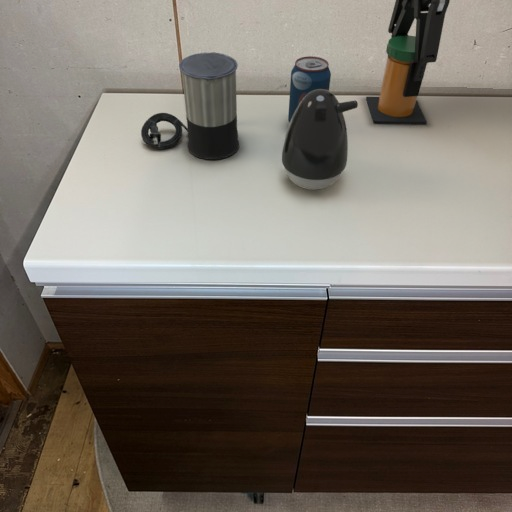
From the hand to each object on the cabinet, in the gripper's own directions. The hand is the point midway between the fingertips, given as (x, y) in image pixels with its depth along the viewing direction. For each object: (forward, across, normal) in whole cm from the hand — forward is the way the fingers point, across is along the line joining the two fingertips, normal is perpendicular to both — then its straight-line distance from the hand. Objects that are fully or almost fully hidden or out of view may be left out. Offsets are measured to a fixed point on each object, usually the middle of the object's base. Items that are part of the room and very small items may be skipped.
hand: (401, 85), depth 90 cm
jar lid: (-7, 0, 0) cm, 7 cm away
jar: (+5, 0, 0) cm, 5 cm away
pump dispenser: (+6, +19, -22) cm, 30 cm away
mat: (+5, 0, 0) cm, 5 cm away
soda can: (+6, +2, -19) cm, 20 cm away
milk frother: (+5, +5, -41) cm, 41 cm away
